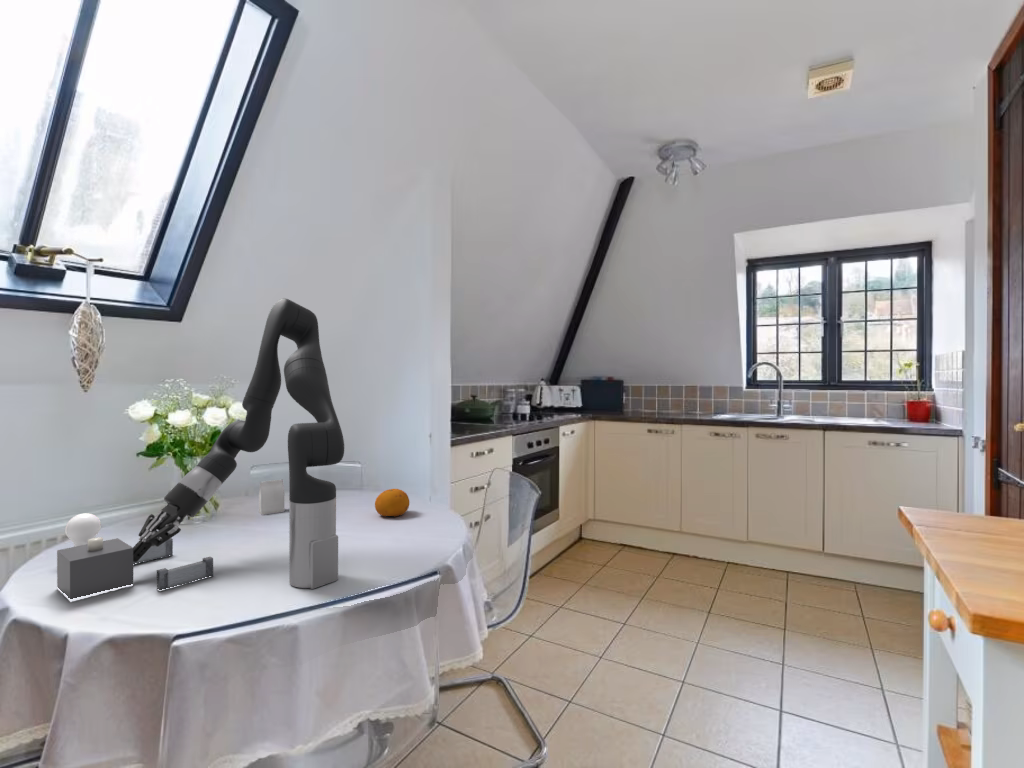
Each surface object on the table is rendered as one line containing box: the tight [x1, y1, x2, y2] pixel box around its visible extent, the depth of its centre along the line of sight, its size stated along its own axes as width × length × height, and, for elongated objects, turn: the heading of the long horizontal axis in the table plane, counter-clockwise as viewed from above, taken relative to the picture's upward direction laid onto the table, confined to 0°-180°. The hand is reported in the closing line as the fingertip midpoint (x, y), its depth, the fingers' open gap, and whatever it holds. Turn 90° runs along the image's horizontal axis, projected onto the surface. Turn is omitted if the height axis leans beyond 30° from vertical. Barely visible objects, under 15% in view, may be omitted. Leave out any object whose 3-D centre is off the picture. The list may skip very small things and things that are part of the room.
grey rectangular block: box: [258, 479, 285, 516], centre depth 163 cm, size 4×7×10 cm, turn 127°
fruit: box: [374, 488, 410, 517], centre depth 160 cm, size 10×10×8 cm
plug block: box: [56, 536, 134, 599], centre depth 104 cm, size 10×10×10 cm
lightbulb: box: [64, 512, 102, 547], centre depth 119 cm, size 6×6×11 cm
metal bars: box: [133, 537, 214, 590], centre depth 113 cm, size 23×10×4 cm, turn 53°
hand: (130, 559), depth 108 cm, fingers closed
